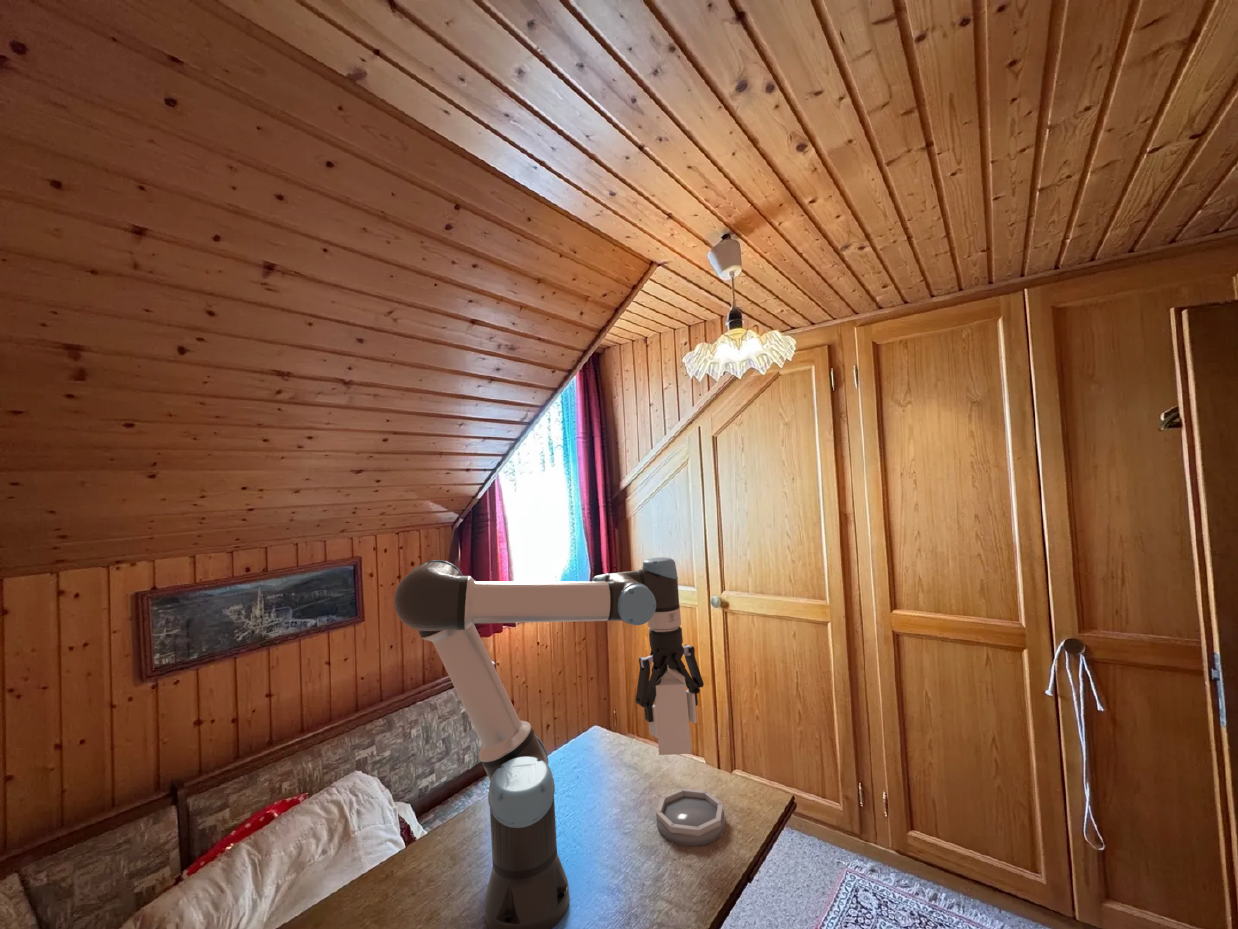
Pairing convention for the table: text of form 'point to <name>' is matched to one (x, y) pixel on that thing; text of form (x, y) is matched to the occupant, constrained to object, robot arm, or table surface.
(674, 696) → the milk carton
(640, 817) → the table surface
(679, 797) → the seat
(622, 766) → the table surface
